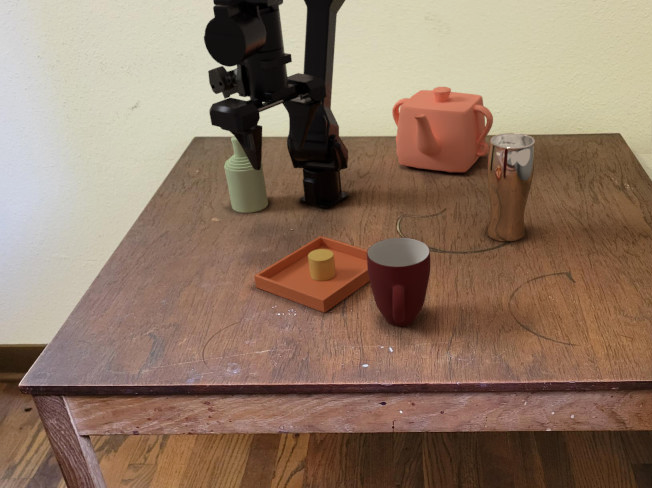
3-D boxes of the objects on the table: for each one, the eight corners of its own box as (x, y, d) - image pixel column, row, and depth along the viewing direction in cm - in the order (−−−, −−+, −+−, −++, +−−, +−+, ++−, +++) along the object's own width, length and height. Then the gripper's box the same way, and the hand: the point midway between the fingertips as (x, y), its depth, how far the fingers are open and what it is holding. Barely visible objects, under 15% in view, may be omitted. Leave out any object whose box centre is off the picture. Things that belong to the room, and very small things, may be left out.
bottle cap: (334, 267, 107) (332, 247, 105) (336, 279, 104) (334, 259, 102) (309, 270, 106) (307, 250, 104) (310, 282, 104) (308, 261, 101)
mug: (437, 343, 91) (437, 274, 85) (375, 348, 91) (370, 279, 85) (425, 300, 100) (425, 234, 93) (368, 305, 99) (364, 239, 93)
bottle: (249, 195, 130) (238, 128, 122) (275, 202, 127) (265, 134, 120) (224, 208, 126) (211, 139, 118) (250, 216, 123) (238, 146, 116)
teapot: (368, 179, 134) (363, 103, 125) (407, 145, 148) (405, 74, 139) (469, 193, 128) (471, 114, 119) (500, 156, 142) (504, 82, 133)
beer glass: (533, 228, 116) (541, 135, 107) (520, 246, 111) (528, 151, 102) (492, 221, 119) (497, 130, 109) (478, 238, 114) (482, 145, 104)
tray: (321, 247, 113) (320, 235, 112) (388, 268, 107) (387, 256, 106) (256, 287, 104) (253, 275, 103) (324, 313, 98) (323, 300, 97)
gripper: (266, 28, 107) (280, 132, 117) (171, 55, 96) (195, 169, 106) (323, 35, 102) (333, 144, 112) (229, 66, 91) (249, 184, 100)
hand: (278, 159), depth 108 cm, fingers open, 9 cm apart
